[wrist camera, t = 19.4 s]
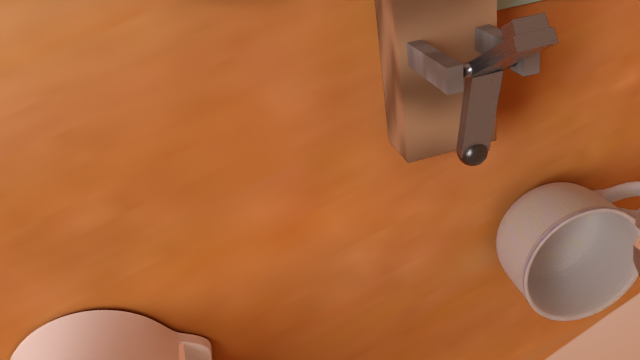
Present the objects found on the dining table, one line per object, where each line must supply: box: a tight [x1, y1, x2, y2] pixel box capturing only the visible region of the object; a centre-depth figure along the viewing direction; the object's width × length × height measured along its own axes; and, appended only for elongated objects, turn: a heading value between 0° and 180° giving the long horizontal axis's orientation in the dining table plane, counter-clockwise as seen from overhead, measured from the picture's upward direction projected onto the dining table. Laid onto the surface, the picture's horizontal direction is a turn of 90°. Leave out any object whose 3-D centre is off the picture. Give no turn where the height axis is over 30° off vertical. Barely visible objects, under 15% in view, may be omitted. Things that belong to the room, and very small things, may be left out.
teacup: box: [496, 181, 640, 321], centre depth 48 cm, size 14×11×8 cm
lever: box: [456, 12, 558, 166], centre depth 33 cm, size 12×3×7 cm
